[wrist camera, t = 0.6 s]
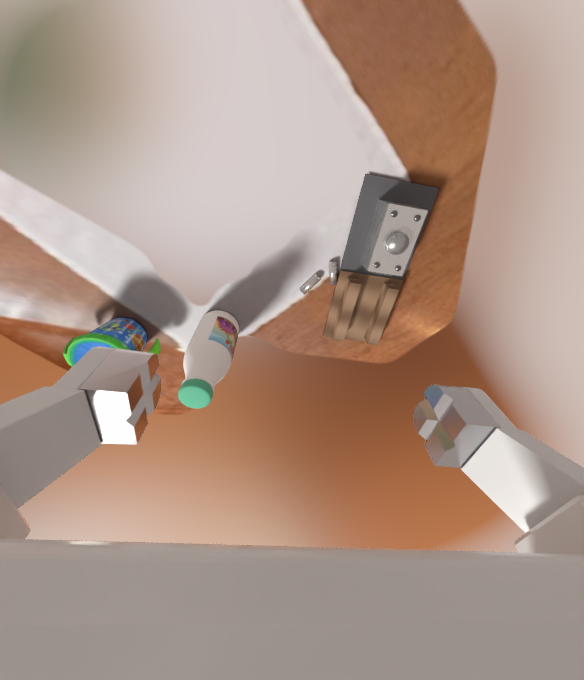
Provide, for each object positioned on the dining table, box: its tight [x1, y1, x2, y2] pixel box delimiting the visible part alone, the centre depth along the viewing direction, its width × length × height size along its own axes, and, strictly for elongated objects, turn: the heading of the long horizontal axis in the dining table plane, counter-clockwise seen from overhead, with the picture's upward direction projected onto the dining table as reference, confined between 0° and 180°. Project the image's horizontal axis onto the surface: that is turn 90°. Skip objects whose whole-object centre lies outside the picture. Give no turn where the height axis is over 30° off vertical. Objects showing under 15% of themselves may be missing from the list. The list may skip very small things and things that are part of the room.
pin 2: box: [329, 261, 337, 285], centre depth 49 cm, size 4×1×1 cm, turn 4°
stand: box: [323, 270, 404, 345], centre depth 52 cm, size 14×12×3 cm
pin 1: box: [300, 274, 321, 294], centre depth 50 cm, size 4×1×1 cm
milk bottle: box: [178, 310, 239, 408], centre depth 46 cm, size 8×8×20 cm
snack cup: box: [63, 317, 160, 367], centre depth 51 cm, size 16×10×10 cm
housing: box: [360, 199, 428, 276], centre depth 44 cm, size 10×6×6 cm, turn 171°
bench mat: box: [339, 174, 439, 279], centre depth 46 cm, size 16×12×1 cm
